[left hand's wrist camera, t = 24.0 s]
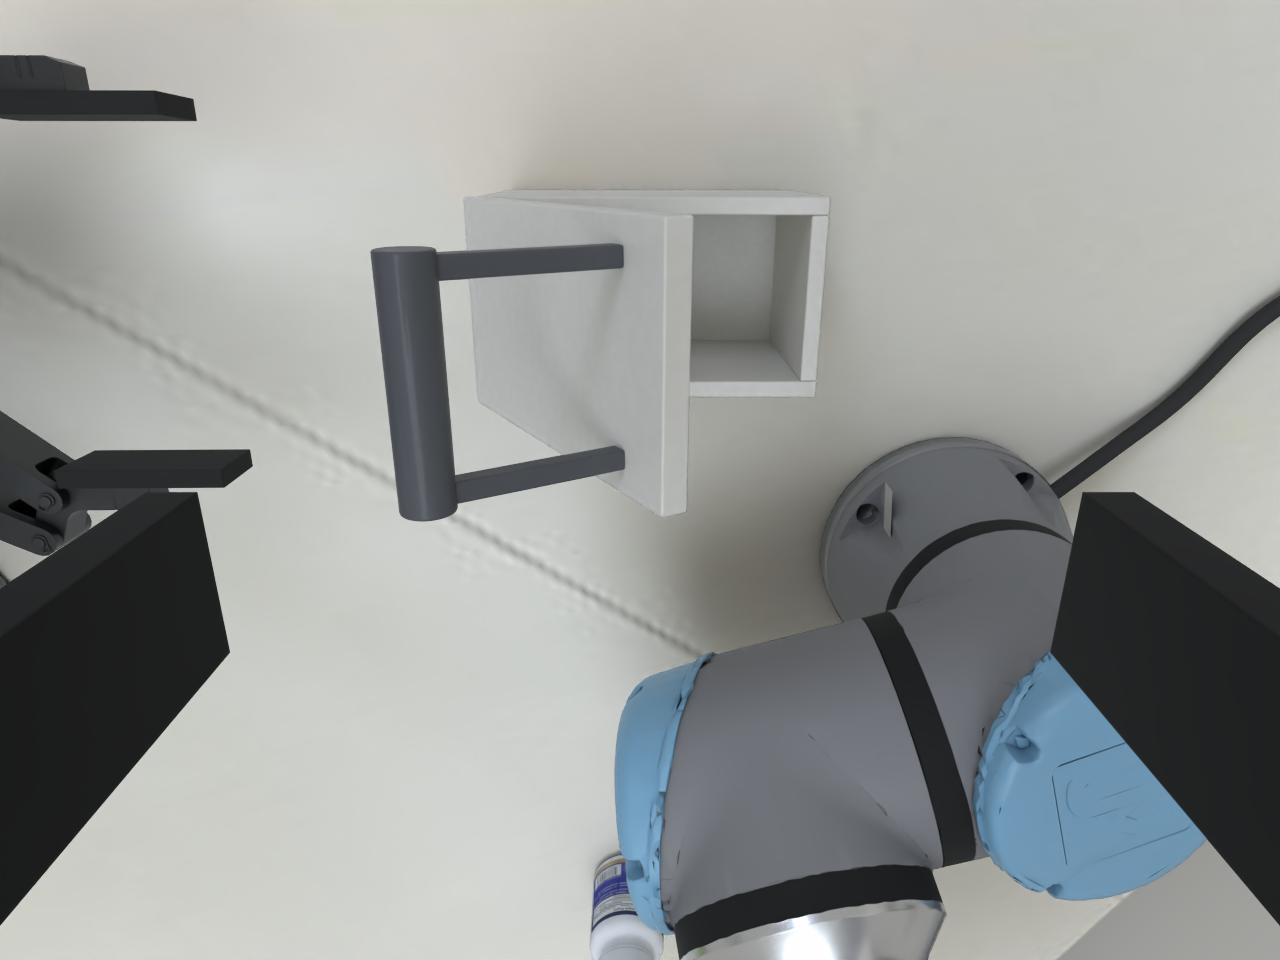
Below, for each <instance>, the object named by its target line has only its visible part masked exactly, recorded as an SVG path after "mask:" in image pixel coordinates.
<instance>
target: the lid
mask: <svg viewBox="0 0 1280 960" xmlns="http://www.w3.org/2000/svg"><path fill="white" fill-rule="evenodd" d="M464 214H465V228H466V242H467V251H449V252H436V249H435V248H432V247H422V246H399V247H383V248H376V249H373V250H371V261H372V270H373V279H374V288H375V297H376V306H377V315H378V324H379V333H380V342H381V351H382V360H383V369H384V378H385V387H386V396H387V405H388V414H389V423H390V432H391V441H392V450H393V459H394V468H395V477H396V486H397V495H398V504H399V513H400V515H401V516H402V517H403V518H405V519H408V520H412V521H433V520H439V519H442V518H446V517H448V516H450V515H452V514H453V513H455V512H456V510H457V508H458V503H463V502H468V501H473V500H478V499H483V498H488V497H493V496H497V495H502V494H507V493H512V492H517V491H522V490H527V489H532V488H537V487H541V486H546V485H551V484H556V483H561V482H566V481H571V480H576V479H581V478H585V477H590V476H596V477H598V478H600V479H601V480H603V481H604V482H606V483H607V484H609V485H611V486H612V487H614V488H615V489H617V490H618V491H620V492H622V493H623V494H625V495H626V496H628V497H630V498H631V499H633V500H634V501H636V502H637V503H639V504H641V505H642V506H644V507H645V508H647V509H648V510H650V511H652V512H653V513H655V514H656V515H658V516H660V517H662V518H664V517H668V516H672V515H677V514H681V513H685V512H686V511H687V480H688V436H689V393H690V349H691V306H692V262H693V219H694V218H693V216H692V215H688V214H677V213H665V212H654V211H642V210H630V209H619V208H607V207H595V206H584V205H572V204H561V203H549V202H537V201H526V200H514V199H502V198H491V197H465V198H464ZM460 279H469V284H470V298H471V312H472V327H473V341H474V355H475V369H476V383H477V397H478V402H480V403H481V404H483V405H484V406H486V407H488V408H489V409H491V410H492V411H494V412H495V413H497V414H499V415H500V416H502V417H503V418H505V419H507V420H508V421H510V422H511V423H513V424H514V425H516V426H518V427H519V428H521V429H522V430H524V431H525V432H527V433H529V434H530V435H532V436H533V437H535V438H536V439H538V440H540V441H541V442H543V443H544V444H546V445H548V446H549V447H551V448H552V449H554V450H555V451H557V452H559V453H560V454H562V455H561V456H556V457H550V458H545V459H540V460H534V461H529V462H524V463H518V464H513V465H508V466H502V467H497V468H492V469H486V470H481V471H476V472H470V473H465V474H460V475H455V468H454V456H453V444H452V432H451V420H450V409H449V397H448V385H447V373H446V361H445V349H444V337H443V325H442V313H441V301H440V289H439V281H445V280H460Z"/></svg>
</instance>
